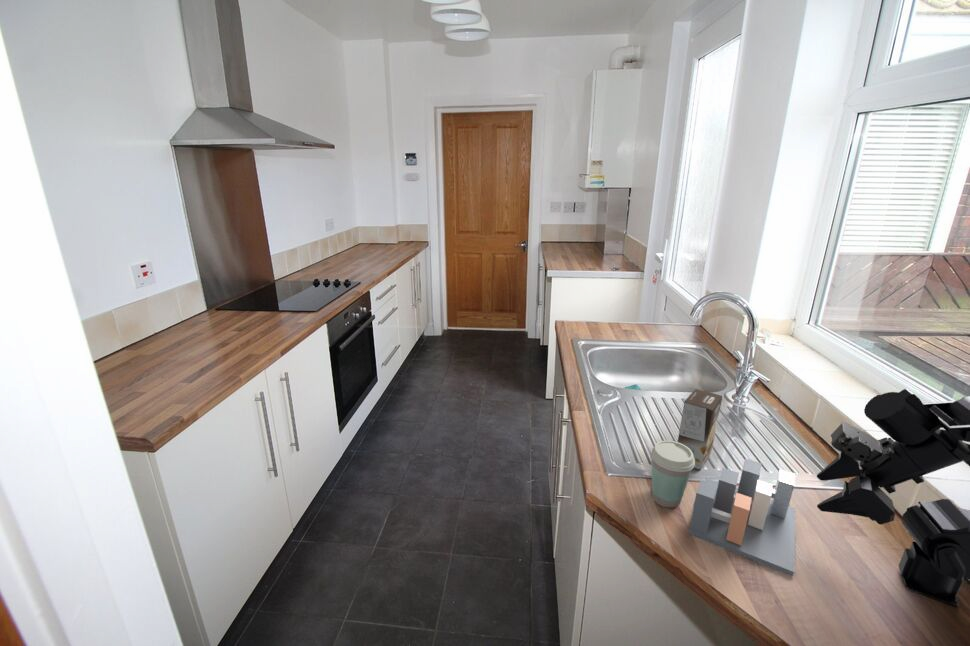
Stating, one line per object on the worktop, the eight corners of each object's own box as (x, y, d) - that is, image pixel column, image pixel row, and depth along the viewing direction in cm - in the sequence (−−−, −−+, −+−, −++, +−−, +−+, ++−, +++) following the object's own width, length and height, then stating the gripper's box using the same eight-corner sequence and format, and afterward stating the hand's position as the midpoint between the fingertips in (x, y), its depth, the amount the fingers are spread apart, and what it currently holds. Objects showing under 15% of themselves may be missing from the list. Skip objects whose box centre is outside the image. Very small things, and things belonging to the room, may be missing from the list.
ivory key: (764, 517, 89) (772, 484, 86) (762, 530, 86) (771, 496, 83) (724, 503, 93) (731, 471, 90) (722, 515, 89) (729, 482, 87)
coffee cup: (688, 517, 91) (697, 467, 87) (644, 506, 94) (651, 458, 90) (686, 490, 98) (694, 443, 94) (645, 481, 101) (652, 435, 97)
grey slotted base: (794, 512, 92) (805, 474, 89) (792, 576, 78) (805, 534, 74) (704, 481, 101) (711, 446, 98) (688, 534, 87) (695, 494, 83)
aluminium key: (785, 506, 92) (794, 474, 89) (785, 518, 89) (794, 485, 86) (747, 493, 95) (754, 461, 93) (745, 504, 92) (752, 472, 90)
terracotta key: (743, 531, 85) (751, 497, 83) (741, 545, 82) (749, 510, 80) (703, 516, 89) (710, 483, 86) (700, 529, 86) (706, 495, 83)
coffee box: (701, 471, 104) (713, 410, 99) (673, 460, 108) (683, 401, 103) (712, 452, 111) (723, 395, 106) (685, 443, 115) (694, 387, 110)
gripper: (867, 392, 80) (786, 432, 89) (878, 445, 65) (781, 486, 75) (919, 441, 78) (830, 477, 87) (942, 508, 63) (833, 541, 73)
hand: (818, 492), depth 80 cm, fingers open, 9 cm apart
